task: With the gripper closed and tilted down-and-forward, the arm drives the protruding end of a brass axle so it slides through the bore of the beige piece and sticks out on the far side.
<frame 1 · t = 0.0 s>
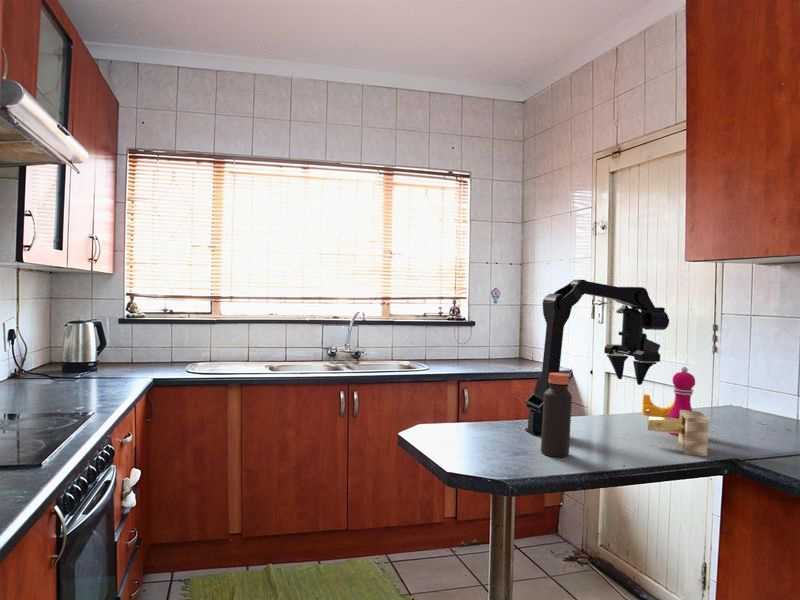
hand: (629, 381, 170), 15 cm above the counter, tool pointing down, fingers open, 9 cm apart
beige piece: (691, 449, 153), on the counter
pipe clamp: (661, 416, 195), on the counter
axle: (674, 425, 154), point 6 cm above the counter, slide at 0.0 cm
bottle: (554, 454, 144), on the counter
pepper mill: (680, 435, 169), on the counter
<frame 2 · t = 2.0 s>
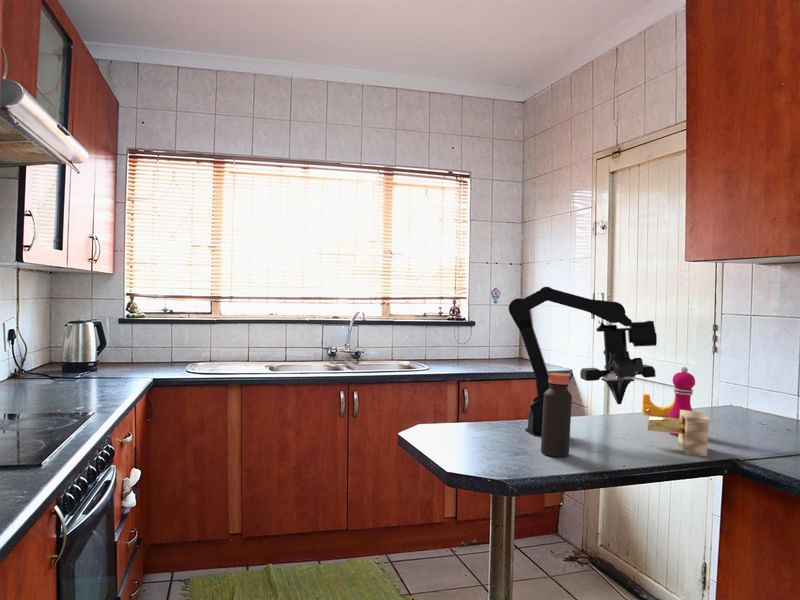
hand: (619, 404, 158), 10 cm above the counter, tool pointing down, fingers closed
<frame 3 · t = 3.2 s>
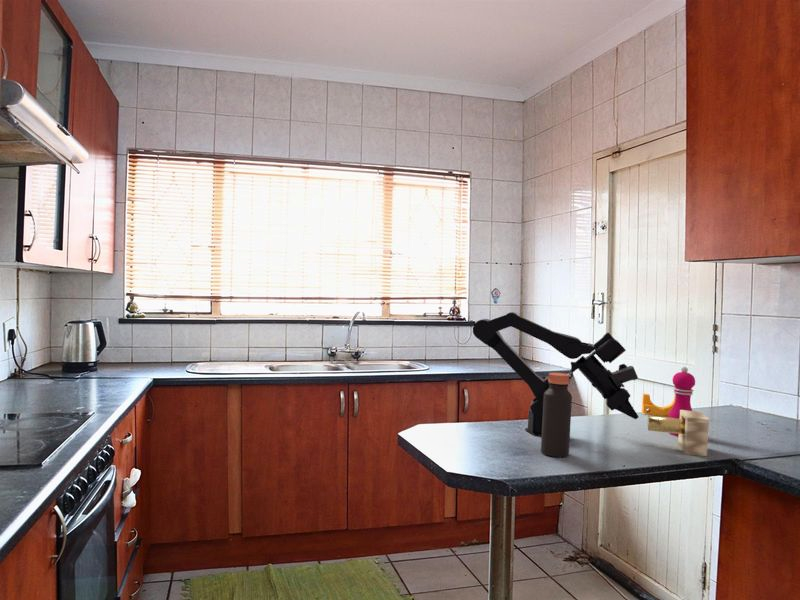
hand: (637, 418, 157), 7 cm above the counter, tool tilted 45°, fingers closed
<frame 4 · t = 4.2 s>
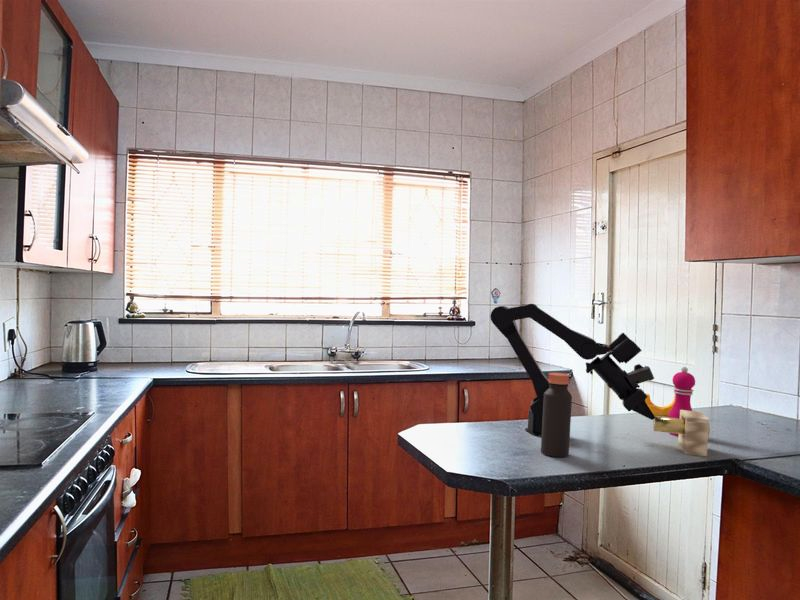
hand: (653, 418, 155), 7 cm above the counter, tool tilted 45°, fingers closed, pressing on axle
axle: (680, 426, 154), point 6 cm above the counter, slide at 1.5 cm, touching gripper
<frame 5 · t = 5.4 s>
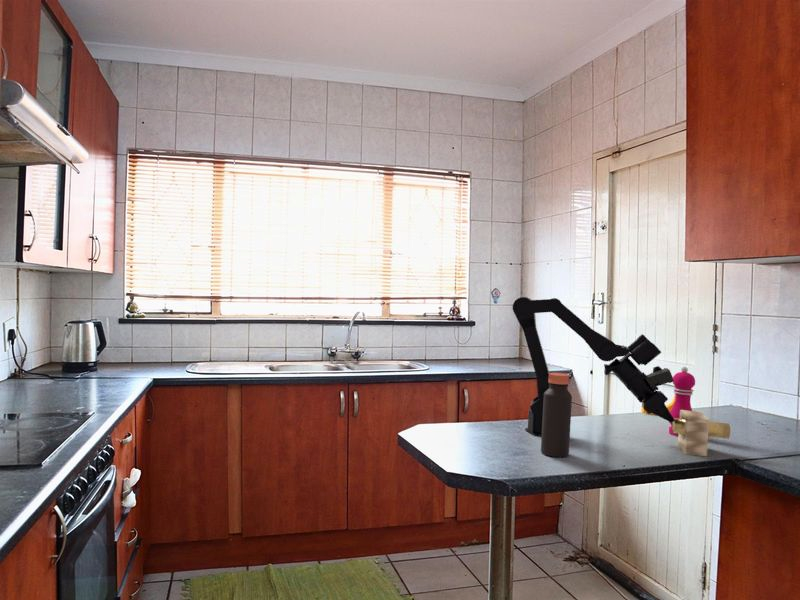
hand: (673, 421, 154), 7 cm above the counter, tool tilted 45°, fingers closed
axle: (700, 428, 152), point 6 cm above the counter, slide at 6.3 cm
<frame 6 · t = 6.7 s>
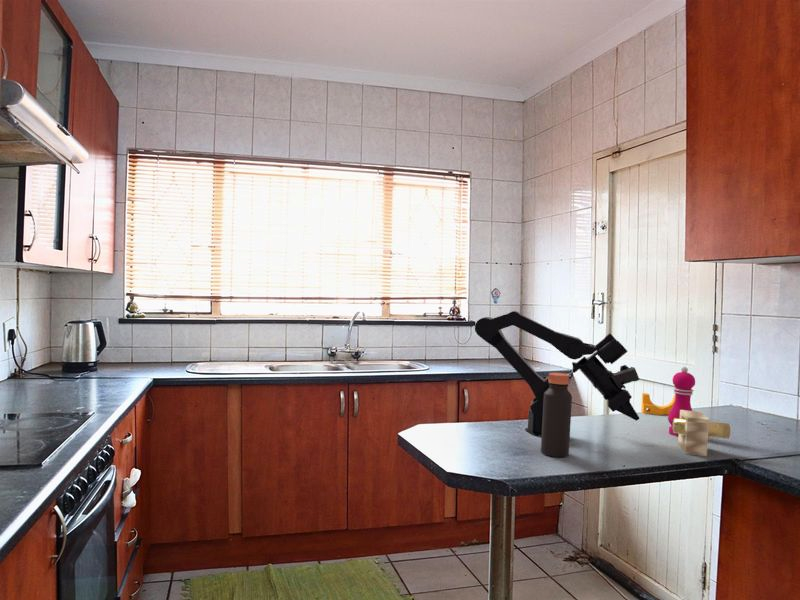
hand: (638, 419, 156), 7 cm above the counter, tool tilted 45°, fingers closed
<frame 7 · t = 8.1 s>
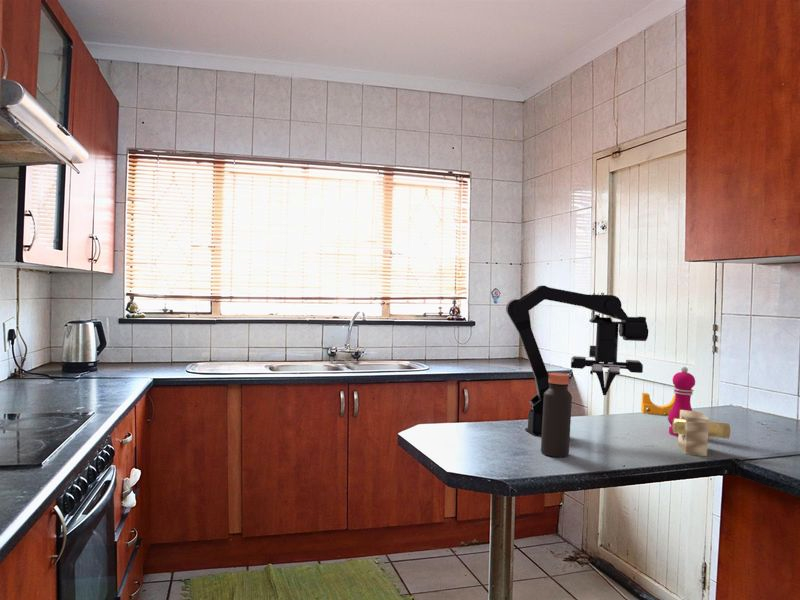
hand: (604, 395, 161), 12 cm above the counter, tool pointing down, fingers closed
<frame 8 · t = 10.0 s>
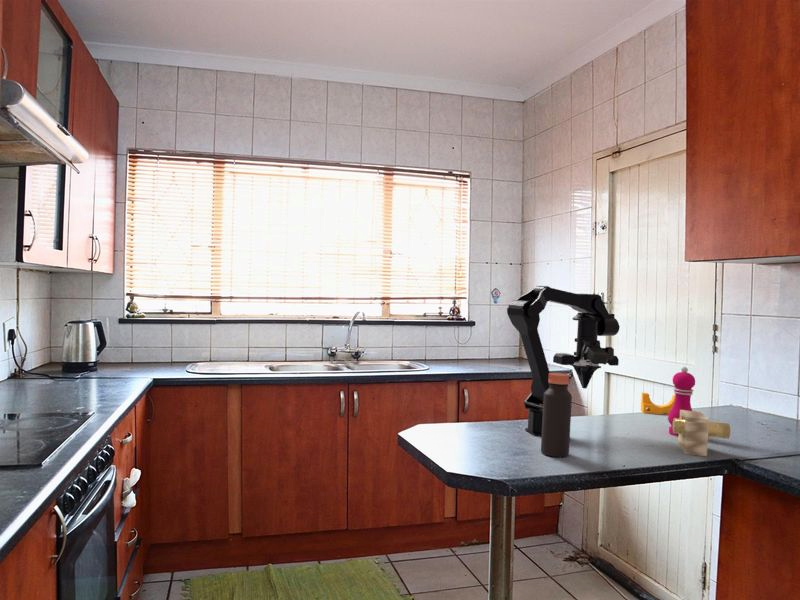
hand: (584, 388, 171), 12 cm above the counter, tool pointing down, fingers closed
at the end: axle slide at 6.3 cm; axle moved 6.3 cm from its start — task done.
